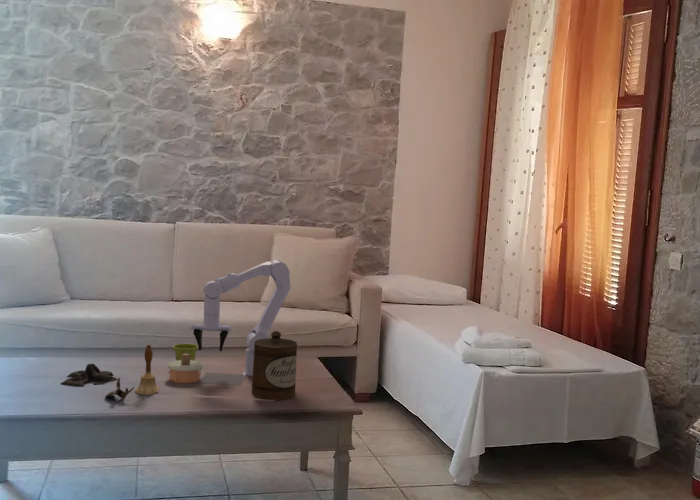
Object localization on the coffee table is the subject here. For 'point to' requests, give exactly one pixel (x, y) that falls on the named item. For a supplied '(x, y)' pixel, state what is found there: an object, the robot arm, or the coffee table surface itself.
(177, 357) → the plant pot
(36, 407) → the coffee table surface
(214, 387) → the coffee table surface
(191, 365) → the lid
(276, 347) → the wooden container
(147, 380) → the hand bell
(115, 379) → the cloth
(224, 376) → the mat
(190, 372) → the bowl
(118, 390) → the eagle figurine
